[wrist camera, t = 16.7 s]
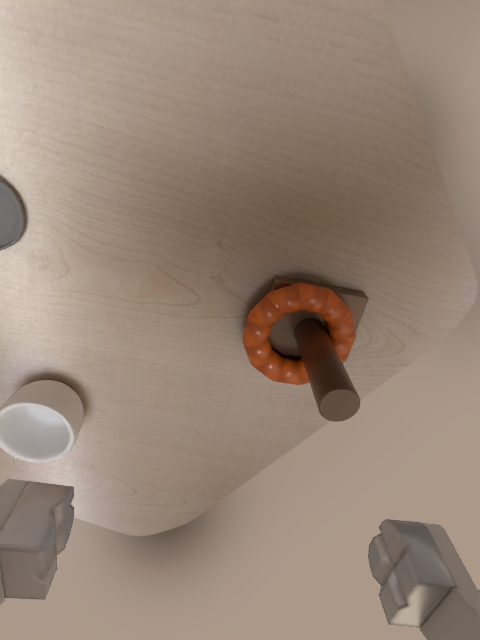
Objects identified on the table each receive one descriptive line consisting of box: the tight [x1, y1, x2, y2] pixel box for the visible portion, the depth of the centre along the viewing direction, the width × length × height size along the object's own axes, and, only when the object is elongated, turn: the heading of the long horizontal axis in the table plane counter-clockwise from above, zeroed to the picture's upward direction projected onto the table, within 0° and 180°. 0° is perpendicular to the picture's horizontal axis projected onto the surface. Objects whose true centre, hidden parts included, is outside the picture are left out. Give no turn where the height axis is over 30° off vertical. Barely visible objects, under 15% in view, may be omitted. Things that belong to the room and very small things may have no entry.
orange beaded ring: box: [243, 283, 356, 385], centre depth 36 cm, size 10×10×2 cm
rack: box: [269, 276, 369, 421], centre depth 33 cm, size 9×9×12 cm
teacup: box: [0, 380, 84, 463], centre depth 39 cm, size 10×8×5 cm
